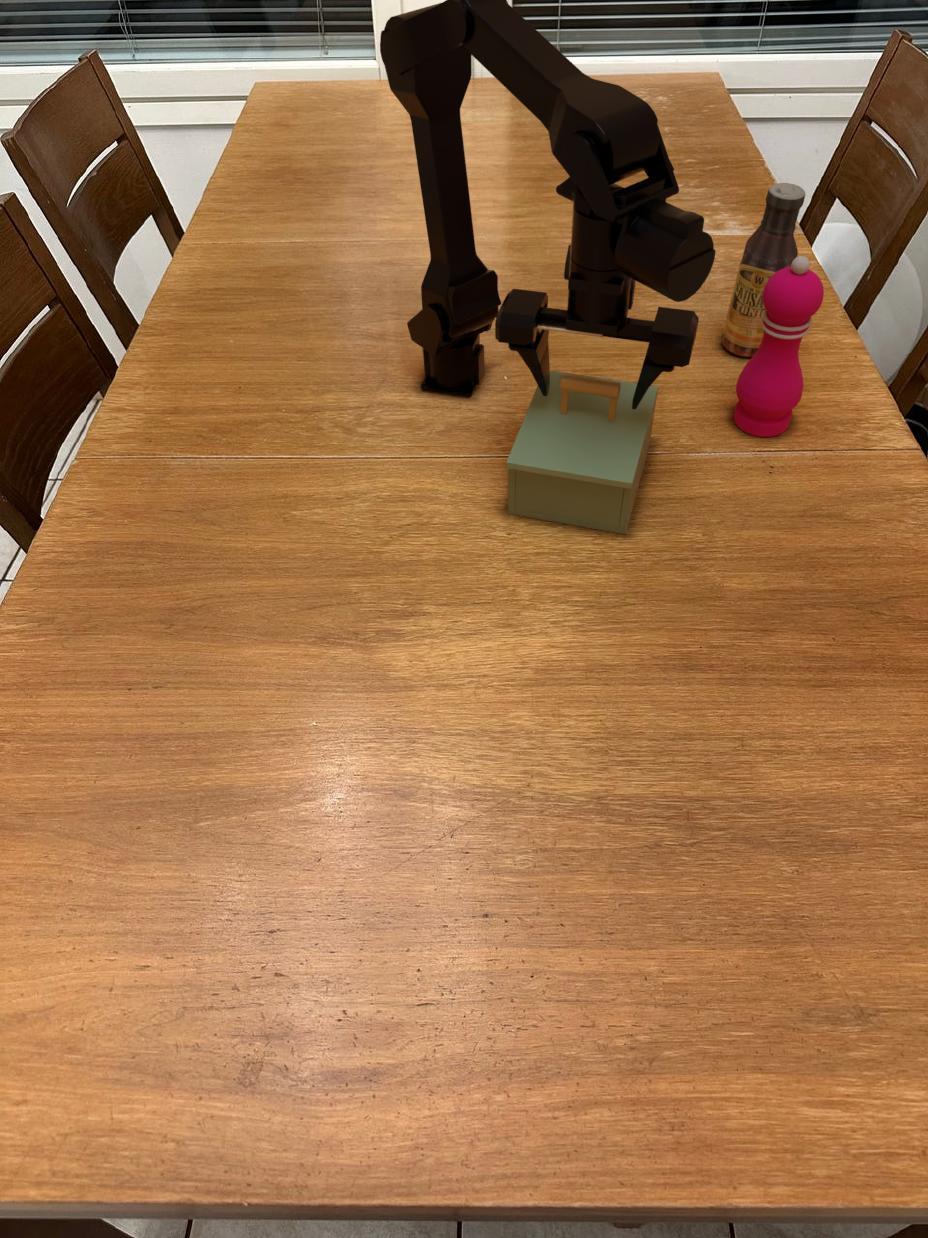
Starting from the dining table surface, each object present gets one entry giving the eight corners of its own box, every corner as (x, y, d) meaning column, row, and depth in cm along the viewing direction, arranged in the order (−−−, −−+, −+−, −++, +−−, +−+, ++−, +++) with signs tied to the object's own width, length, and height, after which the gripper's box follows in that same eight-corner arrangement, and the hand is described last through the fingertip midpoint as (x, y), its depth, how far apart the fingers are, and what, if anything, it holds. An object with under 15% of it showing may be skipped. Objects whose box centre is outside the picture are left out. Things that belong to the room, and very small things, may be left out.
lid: (631, 489, 92) (637, 446, 88) (505, 468, 94) (506, 426, 91) (657, 392, 102) (663, 350, 98) (543, 375, 105) (545, 333, 101)
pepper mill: (794, 443, 106) (842, 277, 91) (728, 436, 108) (765, 272, 93) (792, 405, 111) (838, 241, 96) (729, 399, 112) (765, 236, 97)
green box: (625, 534, 97) (632, 484, 92) (507, 513, 100) (508, 463, 95) (650, 442, 107) (657, 392, 102) (541, 425, 110) (543, 375, 105)
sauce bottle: (713, 352, 119) (745, 195, 104) (729, 328, 122) (761, 172, 107) (765, 366, 116) (804, 206, 102) (779, 340, 120) (819, 183, 105)
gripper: (717, 225, 88) (692, 369, 100) (523, 204, 92) (520, 345, 104) (702, 285, 81) (677, 432, 93) (493, 260, 85) (494, 404, 97)
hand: (589, 400), depth 97 cm, fingers open, 9 cm apart
